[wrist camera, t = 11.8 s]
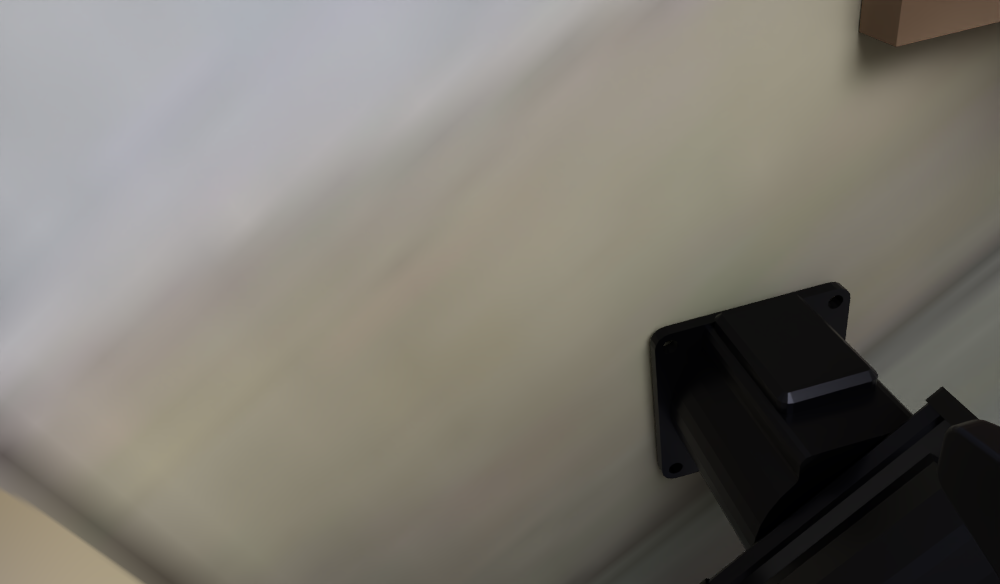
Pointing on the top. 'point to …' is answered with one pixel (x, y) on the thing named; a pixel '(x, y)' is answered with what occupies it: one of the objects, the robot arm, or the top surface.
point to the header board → (923, 18)
